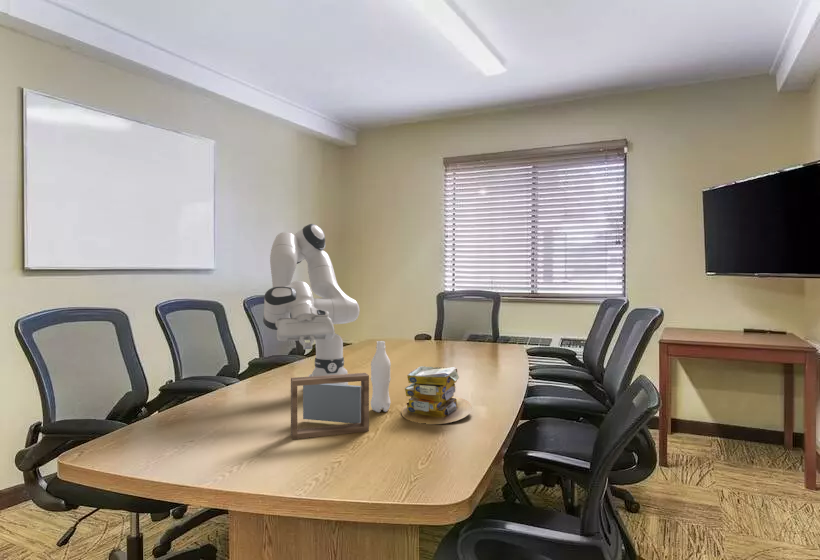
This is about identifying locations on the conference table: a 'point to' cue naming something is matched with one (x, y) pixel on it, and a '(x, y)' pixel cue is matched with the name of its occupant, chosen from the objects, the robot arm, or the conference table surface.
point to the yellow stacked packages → (434, 396)
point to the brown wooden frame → (336, 428)
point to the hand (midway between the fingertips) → (308, 348)
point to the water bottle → (380, 379)
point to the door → (332, 403)
